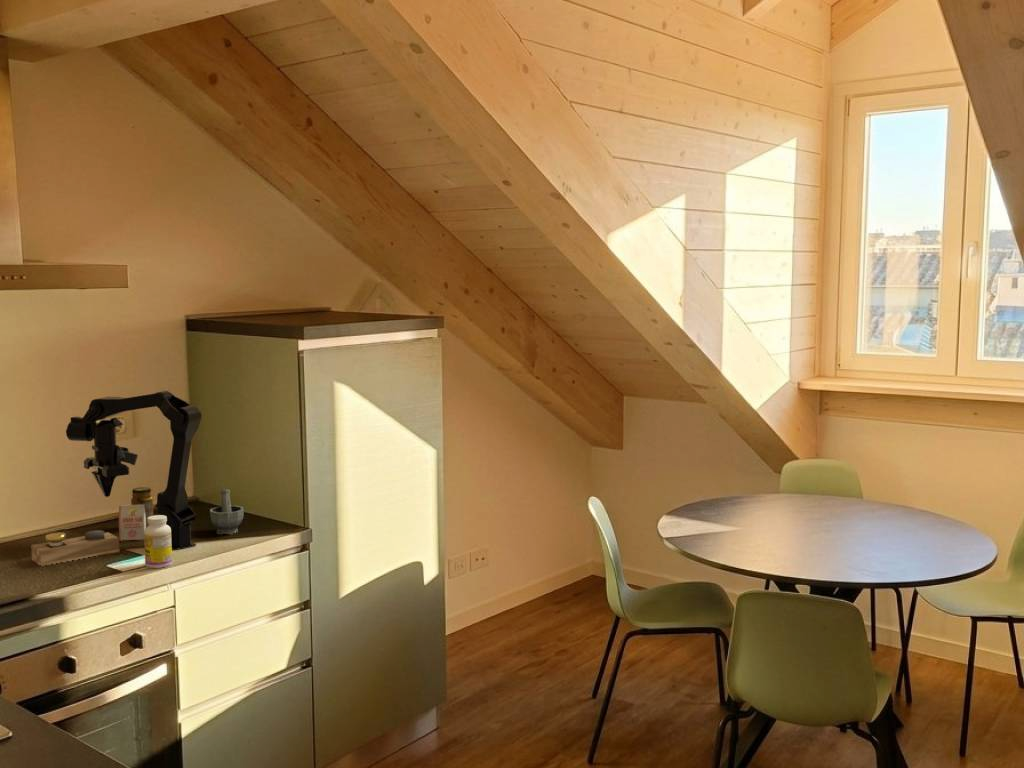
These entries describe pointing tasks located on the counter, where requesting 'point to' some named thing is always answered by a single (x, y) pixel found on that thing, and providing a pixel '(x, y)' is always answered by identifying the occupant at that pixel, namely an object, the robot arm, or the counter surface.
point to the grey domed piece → (94, 535)
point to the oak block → (74, 549)
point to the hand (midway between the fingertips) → (107, 496)
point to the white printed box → (132, 522)
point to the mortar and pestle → (226, 515)
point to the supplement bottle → (157, 542)
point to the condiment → (143, 500)
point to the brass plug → (55, 539)
